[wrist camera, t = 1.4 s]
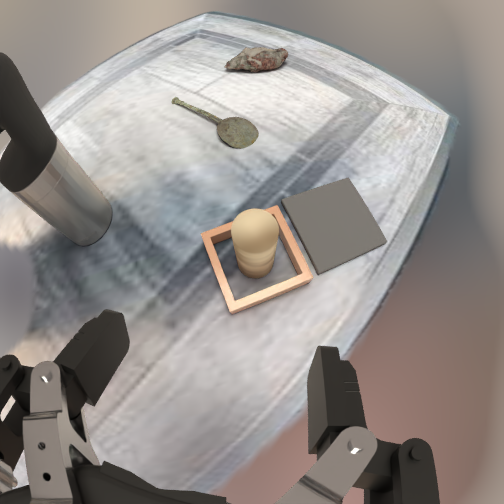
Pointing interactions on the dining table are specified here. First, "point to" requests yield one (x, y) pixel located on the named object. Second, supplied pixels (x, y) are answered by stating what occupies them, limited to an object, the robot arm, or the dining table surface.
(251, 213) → the maple post
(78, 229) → the robot arm
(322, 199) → the charcoal mat
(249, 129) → the soupspoon
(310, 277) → the terracotta collar
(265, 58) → the mineral rock
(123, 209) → the dining table surface
